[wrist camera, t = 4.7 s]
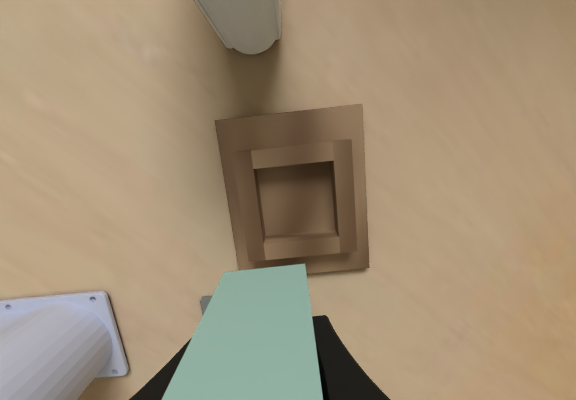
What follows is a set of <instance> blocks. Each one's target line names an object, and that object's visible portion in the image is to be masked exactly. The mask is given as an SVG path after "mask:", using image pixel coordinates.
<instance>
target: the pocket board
mask: <svg viewBox="0 0 576 400" xmlns="http://www.w3.org/2000/svg"><path fill="white" fill-rule="evenodd" d="M215 125H216V131H217V137H218V143H219V150H220V156H221V162H222V168H223V174H224V181H225V187H226V193H227V199H228V205H229V211H230V218H231V224H232V230H233V236H234V242H235V249H236V255H237V261H238V267H239V271H241V270H250V269H260V268H269V267H278V266H288V265H297V264H305V267H306V274H310V273H320V272H331V271H342V270H352V269H363V268H369V247H368V224H367V200H366V176H365V153H364V129H363V106H362V104H356V105H347V106H339V107H330V108H321V109H312V110H303V111H294V112H286V113H277V114H268V115H259V116H250V117H241V118H233V119H224V120H215Z"/></svg>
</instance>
